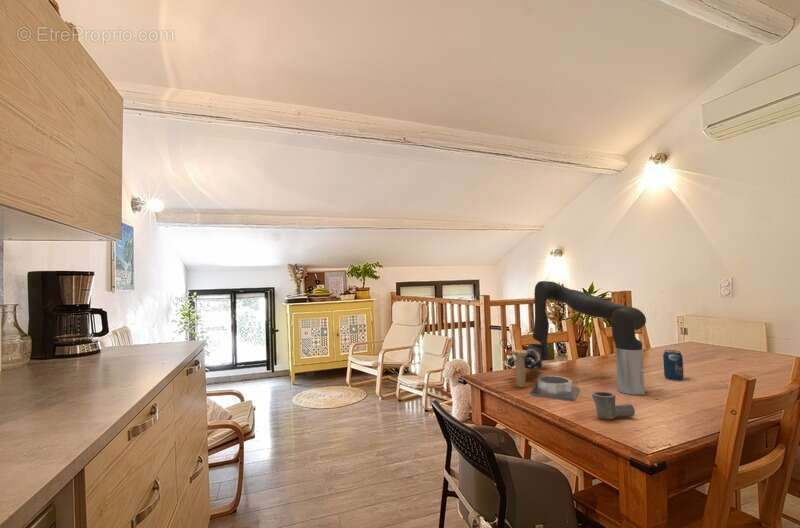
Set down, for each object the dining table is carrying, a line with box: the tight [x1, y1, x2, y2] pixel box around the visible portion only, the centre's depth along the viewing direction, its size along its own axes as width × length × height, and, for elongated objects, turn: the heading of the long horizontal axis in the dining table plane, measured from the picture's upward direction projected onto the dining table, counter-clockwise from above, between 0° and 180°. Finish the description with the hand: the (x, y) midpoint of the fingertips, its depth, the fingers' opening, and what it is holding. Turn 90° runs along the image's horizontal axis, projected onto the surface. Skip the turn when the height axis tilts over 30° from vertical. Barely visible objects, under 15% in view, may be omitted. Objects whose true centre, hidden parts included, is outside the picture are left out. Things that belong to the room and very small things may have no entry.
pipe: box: [591, 391, 636, 421], centre depth 124 cm, size 6×13×8 cm, turn 89°
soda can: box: [662, 349, 685, 381], centre depth 165 cm, size 7×7×12 cm
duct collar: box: [529, 375, 580, 402], centre depth 152 cm, size 16×16×5 cm
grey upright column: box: [511, 349, 527, 388], centre depth 161 cm, size 5×6×15 cm
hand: (521, 365), depth 162 cm, fingers open, 8 cm apart
